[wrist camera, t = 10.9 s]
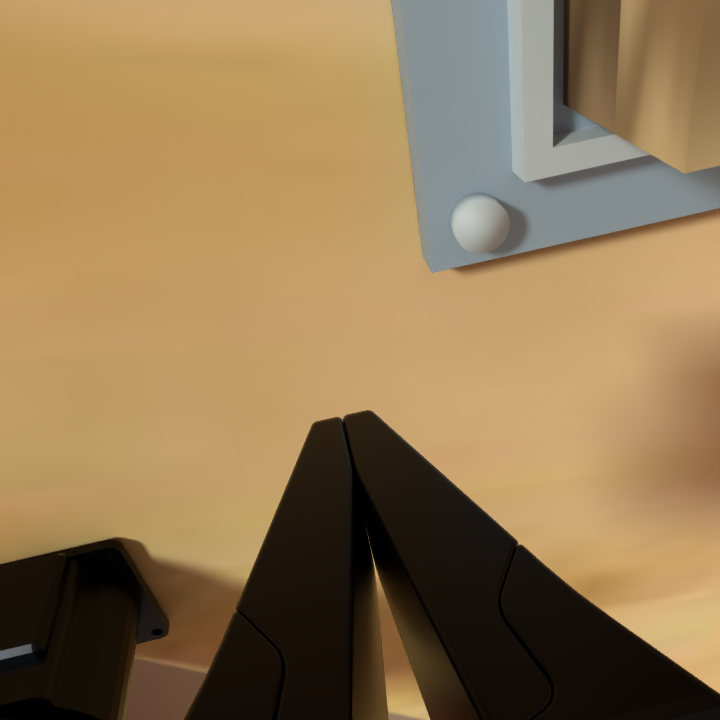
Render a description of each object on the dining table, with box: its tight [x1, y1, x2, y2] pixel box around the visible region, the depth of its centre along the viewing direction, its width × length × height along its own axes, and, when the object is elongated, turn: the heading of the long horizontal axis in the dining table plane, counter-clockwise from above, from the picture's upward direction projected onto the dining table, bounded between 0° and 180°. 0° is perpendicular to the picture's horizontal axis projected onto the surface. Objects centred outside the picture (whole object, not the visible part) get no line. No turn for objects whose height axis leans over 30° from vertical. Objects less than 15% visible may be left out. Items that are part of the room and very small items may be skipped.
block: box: [563, 0, 720, 174], centre depth 14 cm, size 4×4×6 cm
